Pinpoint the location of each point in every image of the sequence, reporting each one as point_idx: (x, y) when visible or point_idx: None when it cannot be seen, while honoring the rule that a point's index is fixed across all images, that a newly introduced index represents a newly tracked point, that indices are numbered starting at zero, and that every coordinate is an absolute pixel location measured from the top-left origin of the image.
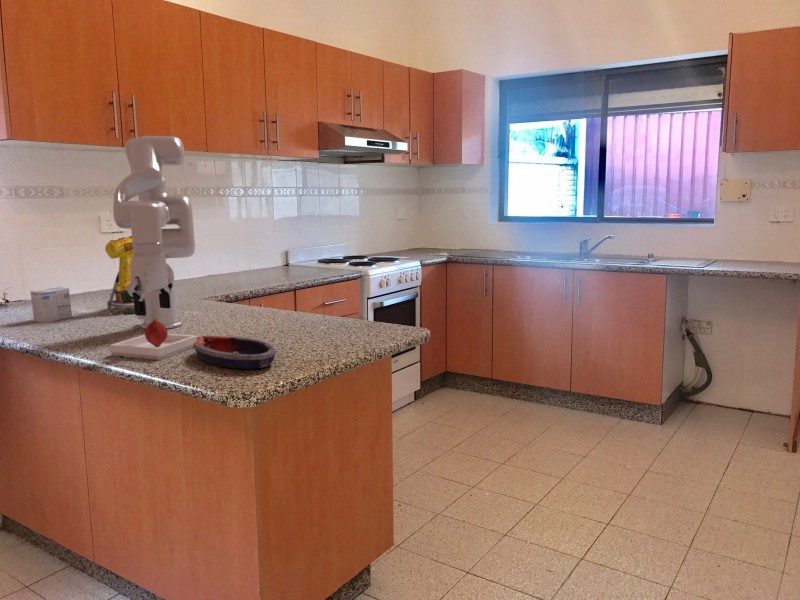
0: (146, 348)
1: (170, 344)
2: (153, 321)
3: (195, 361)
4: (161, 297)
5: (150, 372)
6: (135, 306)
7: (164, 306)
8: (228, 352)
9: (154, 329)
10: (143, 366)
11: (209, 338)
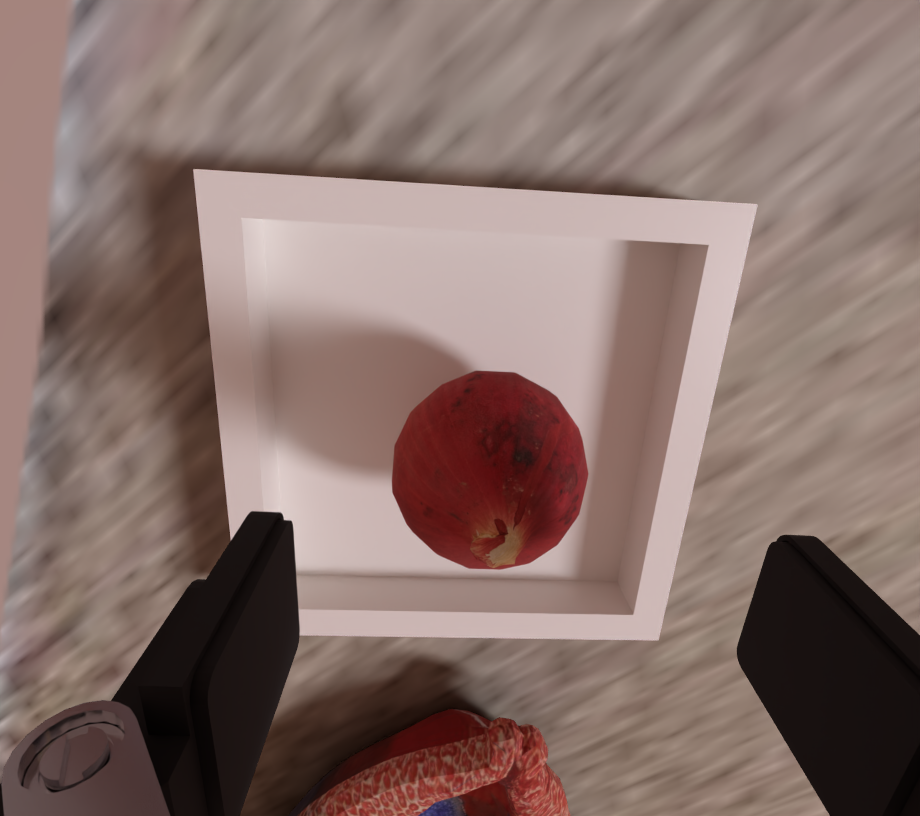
0: (233, 536)
1: (369, 628)
2: (476, 531)
3: (306, 750)
4: (869, 702)
5: (35, 685)
6: (154, 651)
7: (761, 619)
8: (497, 803)
9: (417, 535)
10: (108, 583)
11: (508, 799)
